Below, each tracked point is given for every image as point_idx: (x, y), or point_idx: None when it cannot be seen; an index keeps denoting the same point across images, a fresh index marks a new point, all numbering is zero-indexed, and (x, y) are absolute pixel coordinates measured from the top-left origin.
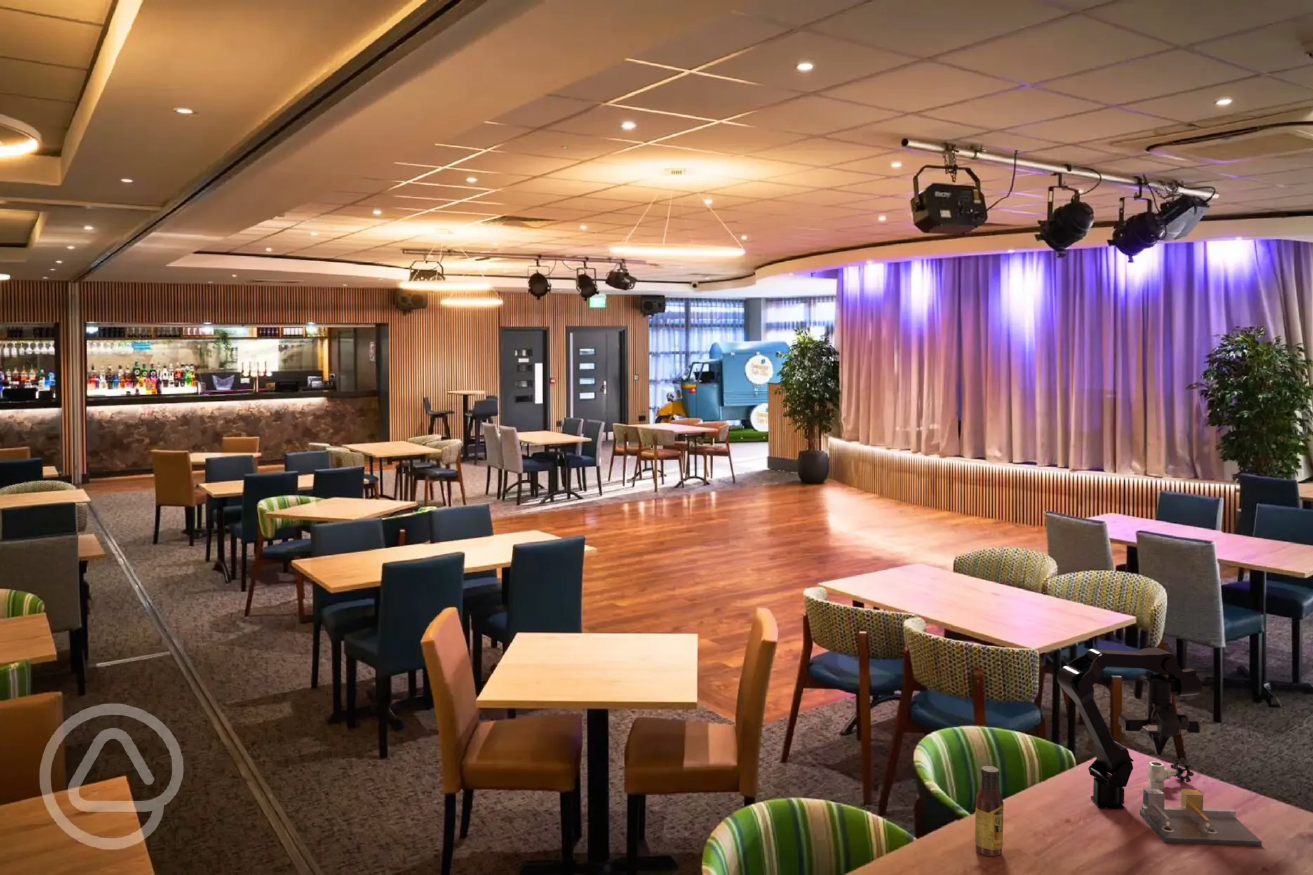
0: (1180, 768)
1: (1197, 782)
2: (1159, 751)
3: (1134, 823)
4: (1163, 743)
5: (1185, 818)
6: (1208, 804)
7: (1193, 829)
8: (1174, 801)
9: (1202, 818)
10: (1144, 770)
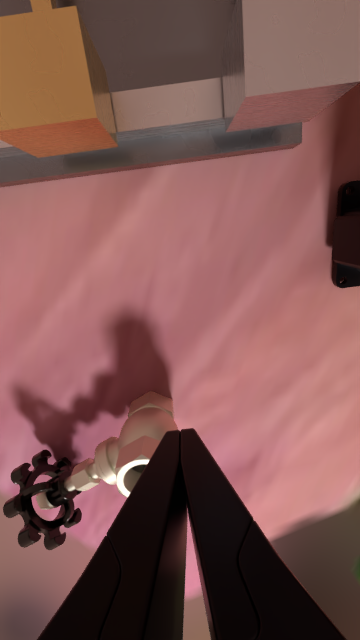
0: (50, 496)
1: (17, 463)
2: (179, 451)
3: None
4: (133, 544)
5: (119, 75)
6: (2, 304)
7: None
8: (119, 306)
9: None
10: None
